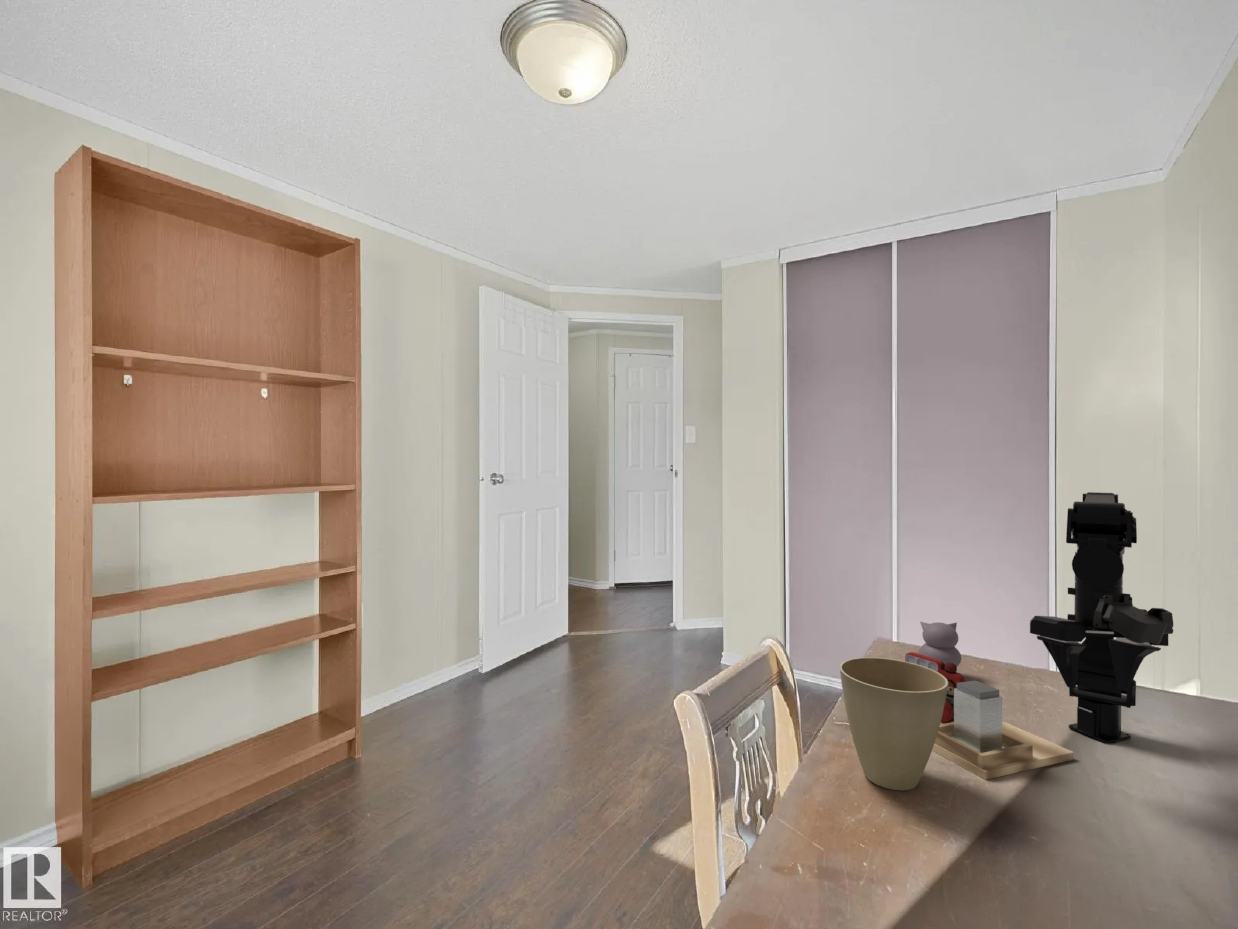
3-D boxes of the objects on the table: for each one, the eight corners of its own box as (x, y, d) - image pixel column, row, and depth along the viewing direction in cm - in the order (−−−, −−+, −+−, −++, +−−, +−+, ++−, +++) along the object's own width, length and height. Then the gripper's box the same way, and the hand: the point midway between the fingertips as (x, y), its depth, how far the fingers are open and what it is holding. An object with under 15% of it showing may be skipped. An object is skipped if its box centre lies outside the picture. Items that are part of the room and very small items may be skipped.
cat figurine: (925, 681, 131) (925, 626, 131) (913, 669, 138) (913, 617, 138) (967, 684, 129) (967, 628, 129) (953, 671, 137) (953, 619, 137)
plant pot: (908, 818, 80) (909, 699, 80) (818, 770, 93) (819, 667, 93) (968, 786, 88) (969, 678, 88) (877, 746, 101) (878, 651, 101)
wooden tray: (1003, 728, 107) (1003, 710, 107) (1073, 759, 96) (1073, 739, 96) (921, 744, 101) (921, 725, 101) (985, 779, 90) (985, 758, 90)
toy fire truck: (959, 730, 107) (959, 672, 107) (895, 706, 117) (895, 653, 117) (980, 721, 111) (980, 665, 111) (916, 698, 121) (916, 647, 121)
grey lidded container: (975, 739, 100) (975, 679, 100) (1002, 753, 96) (1002, 690, 96) (953, 742, 99) (954, 682, 99) (980, 757, 94) (980, 693, 94)
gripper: (1095, 587, 82) (1094, 704, 81) (1208, 594, 85) (1210, 708, 83) (1027, 578, 93) (1026, 681, 92) (1130, 585, 96) (1130, 684, 94)
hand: (1097, 688), depth 90 cm, fingers open, 9 cm apart
